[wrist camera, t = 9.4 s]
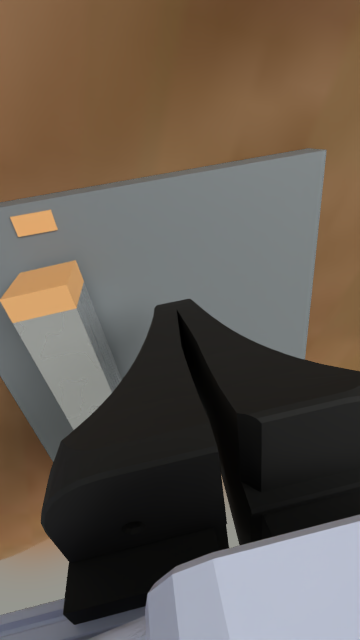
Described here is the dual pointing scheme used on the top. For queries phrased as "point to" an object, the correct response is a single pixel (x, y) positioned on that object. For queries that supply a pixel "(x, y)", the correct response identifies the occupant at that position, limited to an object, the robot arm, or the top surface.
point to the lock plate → (170, 259)
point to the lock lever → (63, 337)
